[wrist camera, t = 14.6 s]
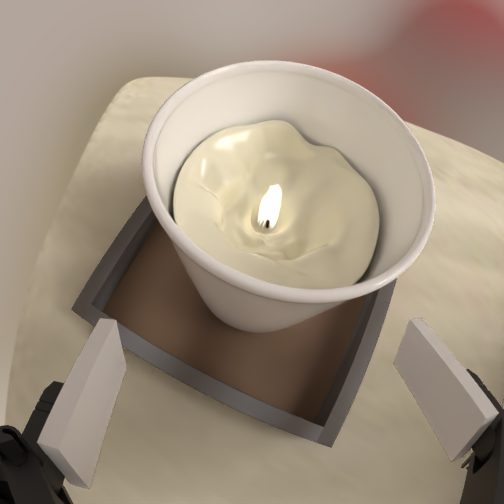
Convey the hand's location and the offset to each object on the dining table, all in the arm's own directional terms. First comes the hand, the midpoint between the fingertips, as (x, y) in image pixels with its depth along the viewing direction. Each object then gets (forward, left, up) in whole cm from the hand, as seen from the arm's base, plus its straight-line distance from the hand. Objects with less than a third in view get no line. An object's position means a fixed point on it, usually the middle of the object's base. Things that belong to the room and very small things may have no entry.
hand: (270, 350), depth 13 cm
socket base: (+2, -5, -7) cm, 9 cm away
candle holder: (+2, -5, -6) cm, 8 cm away
